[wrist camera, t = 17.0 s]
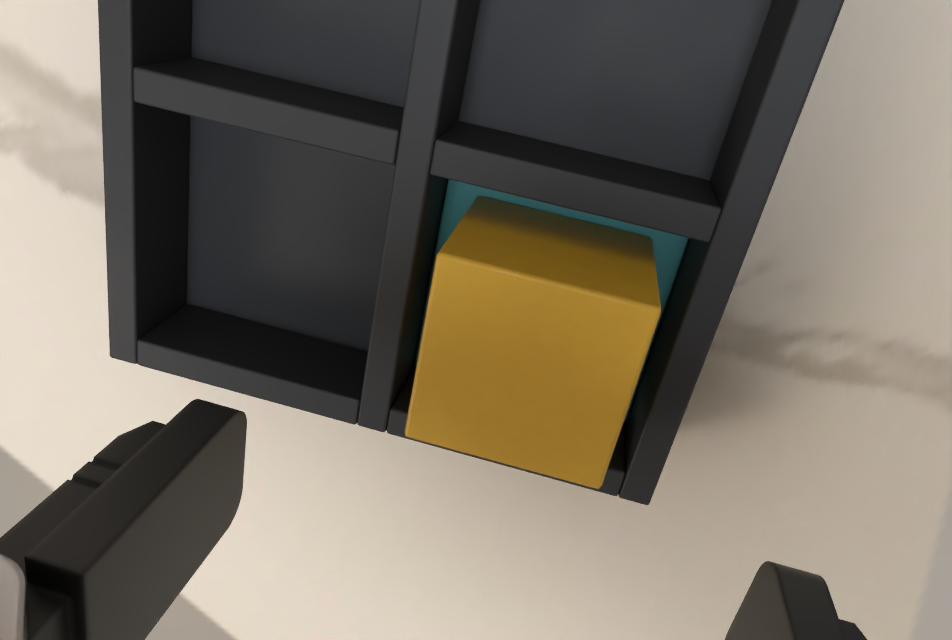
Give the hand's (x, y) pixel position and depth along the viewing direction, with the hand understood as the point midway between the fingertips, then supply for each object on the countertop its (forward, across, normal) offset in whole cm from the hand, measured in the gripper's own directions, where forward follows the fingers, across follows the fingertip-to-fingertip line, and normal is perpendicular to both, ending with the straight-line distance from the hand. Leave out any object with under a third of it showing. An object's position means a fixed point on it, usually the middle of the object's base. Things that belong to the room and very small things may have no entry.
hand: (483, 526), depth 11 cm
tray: (+10, +4, -4) cm, 11 cm away
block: (+9, 0, 0) cm, 9 cm away
